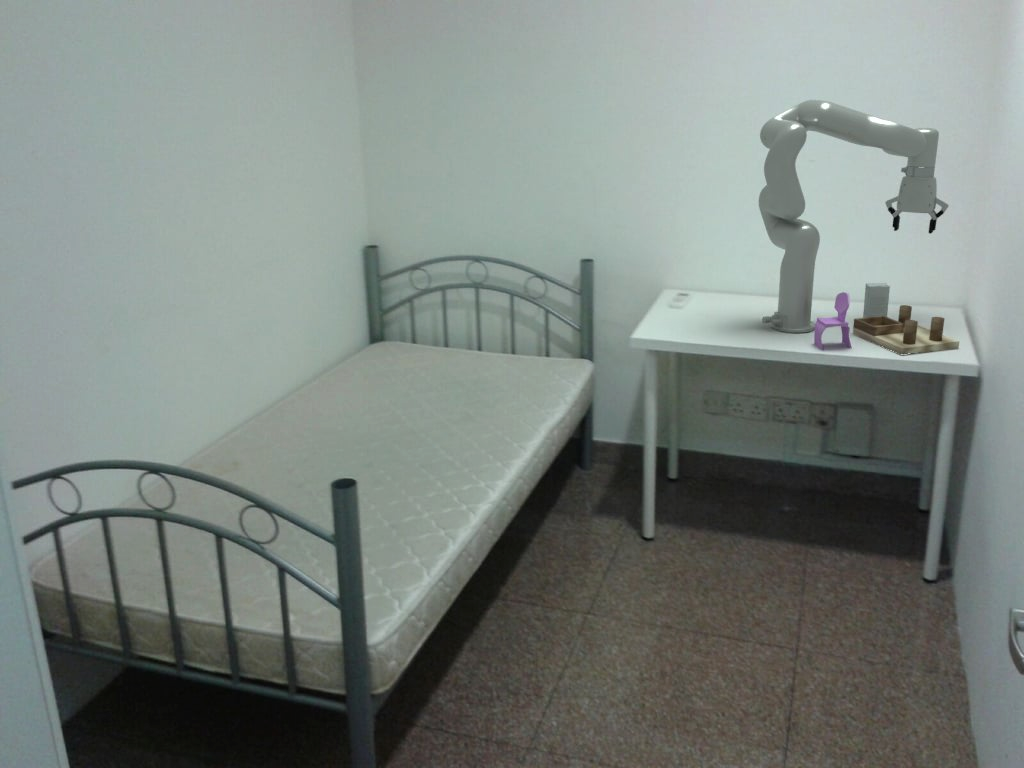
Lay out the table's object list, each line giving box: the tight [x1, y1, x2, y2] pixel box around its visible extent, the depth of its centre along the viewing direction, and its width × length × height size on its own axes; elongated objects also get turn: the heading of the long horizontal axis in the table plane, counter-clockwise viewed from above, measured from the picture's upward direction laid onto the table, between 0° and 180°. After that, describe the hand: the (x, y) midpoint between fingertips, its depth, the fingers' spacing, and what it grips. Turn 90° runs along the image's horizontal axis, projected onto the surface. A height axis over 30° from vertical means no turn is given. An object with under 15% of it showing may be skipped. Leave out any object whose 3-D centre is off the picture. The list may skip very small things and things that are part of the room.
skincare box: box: [862, 282, 891, 318], centre depth 288 cm, size 6×4×12 cm
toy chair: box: [813, 291, 853, 351], centre depth 268 cm, size 8×9×15 cm
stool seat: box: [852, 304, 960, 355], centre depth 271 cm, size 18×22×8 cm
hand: (913, 231), depth 287 cm, fingers open, 9 cm apart
